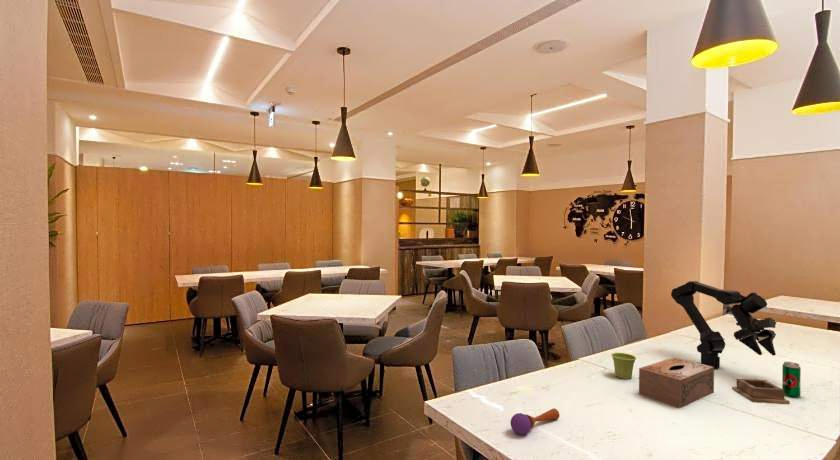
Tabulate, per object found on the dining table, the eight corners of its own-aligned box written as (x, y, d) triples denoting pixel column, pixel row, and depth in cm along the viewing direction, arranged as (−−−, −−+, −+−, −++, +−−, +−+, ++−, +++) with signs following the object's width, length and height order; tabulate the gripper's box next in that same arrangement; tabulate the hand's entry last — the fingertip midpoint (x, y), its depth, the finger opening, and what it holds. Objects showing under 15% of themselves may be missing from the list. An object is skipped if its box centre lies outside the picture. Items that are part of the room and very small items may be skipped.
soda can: (803, 398, 152) (804, 366, 152) (787, 397, 153) (788, 365, 153) (794, 393, 157) (794, 361, 157) (779, 392, 158) (779, 360, 158)
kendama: (564, 410, 133) (523, 422, 121) (560, 427, 133) (519, 441, 121) (549, 400, 137) (508, 411, 126) (545, 417, 138) (504, 429, 126)
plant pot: (635, 374, 176) (635, 354, 176) (636, 382, 168) (636, 360, 168) (611, 371, 180) (611, 351, 180) (611, 378, 172) (611, 357, 172)
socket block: (732, 389, 161) (732, 377, 161) (766, 391, 159) (766, 379, 159) (752, 401, 149) (752, 389, 149) (789, 404, 147) (789, 391, 147)
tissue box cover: (680, 409, 143) (680, 380, 143) (638, 394, 155) (639, 368, 155) (713, 393, 157) (714, 366, 157) (673, 381, 169) (673, 356, 169)
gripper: (749, 308, 163) (774, 346, 154) (776, 311, 170) (802, 347, 161) (723, 320, 171) (746, 357, 162) (750, 322, 178) (773, 358, 169)
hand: (767, 355), depth 163 cm, fingers open, 9 cm apart
